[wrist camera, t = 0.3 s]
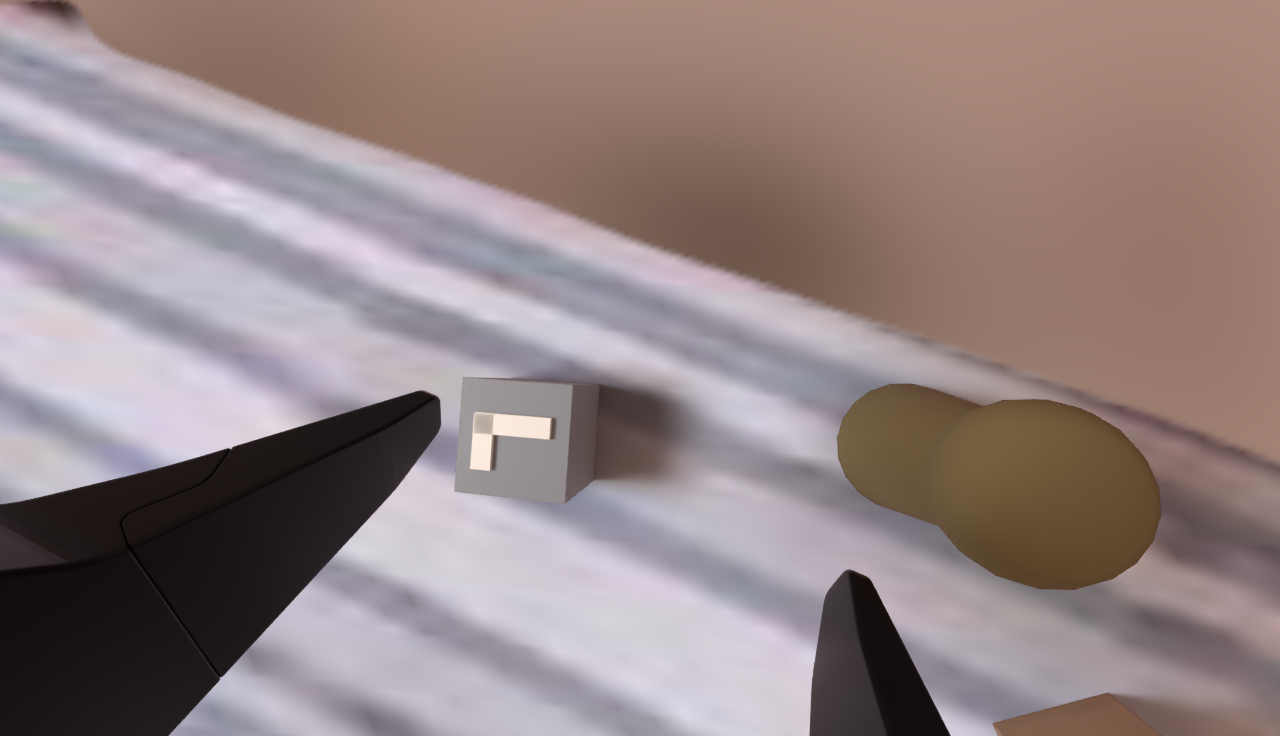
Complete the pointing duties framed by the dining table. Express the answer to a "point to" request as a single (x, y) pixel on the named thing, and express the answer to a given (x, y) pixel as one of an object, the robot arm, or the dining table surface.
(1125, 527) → the cork
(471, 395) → the slate marked block
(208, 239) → the dining table surface
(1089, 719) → the walnut marked block
